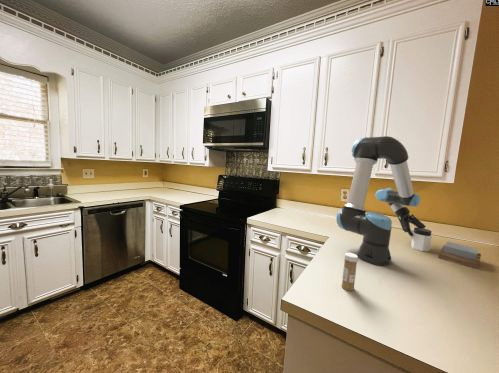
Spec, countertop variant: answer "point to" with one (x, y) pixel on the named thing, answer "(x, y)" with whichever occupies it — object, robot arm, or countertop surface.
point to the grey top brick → (460, 250)
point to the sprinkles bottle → (349, 271)
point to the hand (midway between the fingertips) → (423, 239)
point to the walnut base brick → (460, 259)
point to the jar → (422, 239)
